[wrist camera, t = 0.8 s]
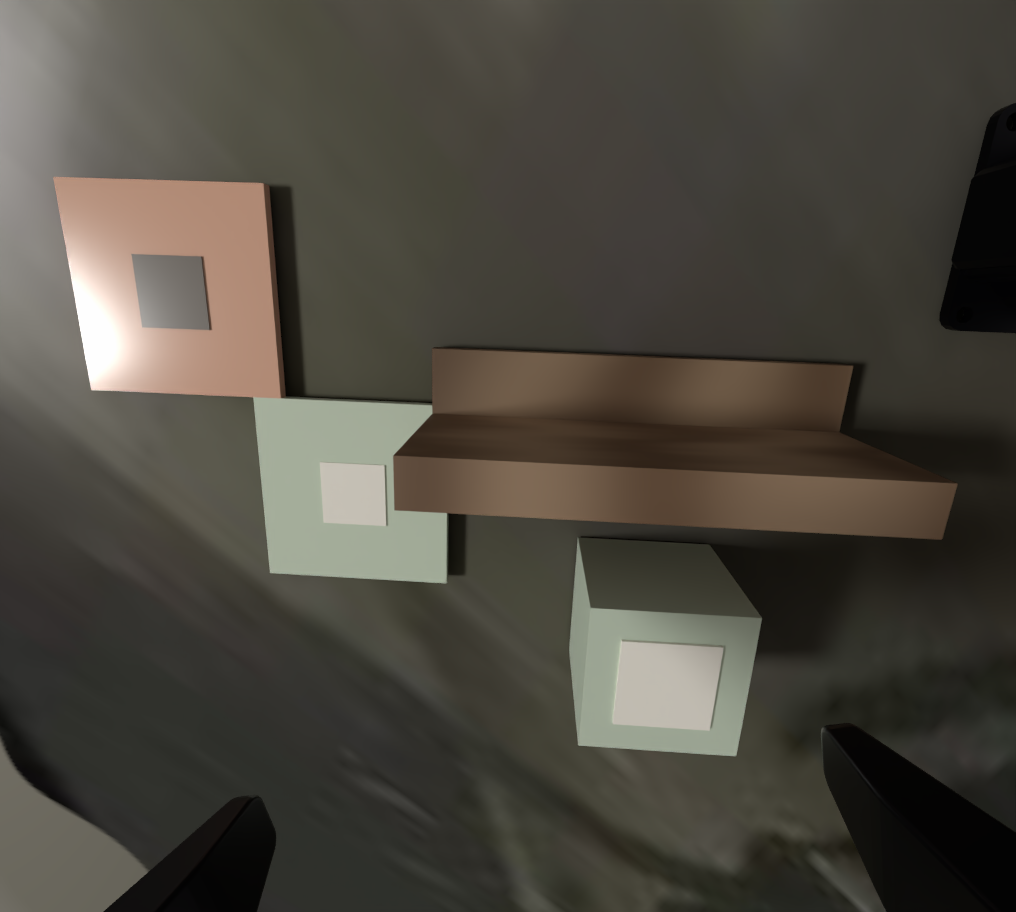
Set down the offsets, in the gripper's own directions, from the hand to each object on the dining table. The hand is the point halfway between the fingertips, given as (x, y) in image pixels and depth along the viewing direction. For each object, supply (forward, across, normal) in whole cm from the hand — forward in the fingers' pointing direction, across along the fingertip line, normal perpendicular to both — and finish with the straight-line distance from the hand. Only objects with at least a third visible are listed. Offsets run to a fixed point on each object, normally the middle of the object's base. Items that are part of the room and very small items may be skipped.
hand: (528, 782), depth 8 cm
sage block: (+12, -3, +5) cm, 14 cm away
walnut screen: (+12, -4, -2) cm, 13 cm away
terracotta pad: (+12, +11, -10) cm, 19 cm away
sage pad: (+12, +7, -2) cm, 14 cm away
